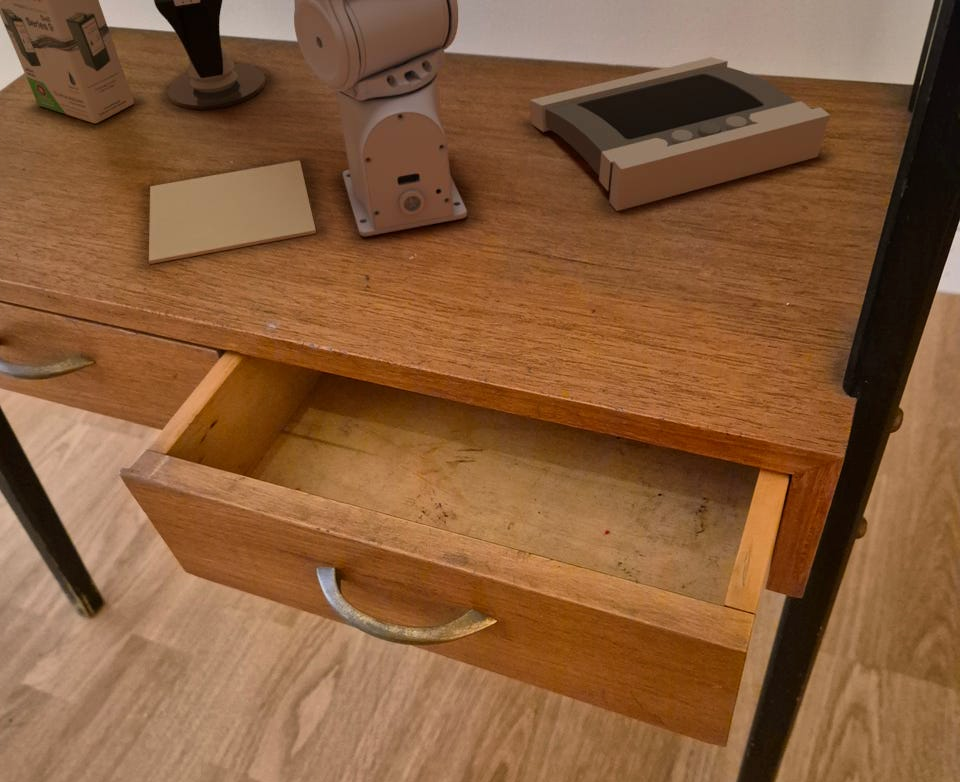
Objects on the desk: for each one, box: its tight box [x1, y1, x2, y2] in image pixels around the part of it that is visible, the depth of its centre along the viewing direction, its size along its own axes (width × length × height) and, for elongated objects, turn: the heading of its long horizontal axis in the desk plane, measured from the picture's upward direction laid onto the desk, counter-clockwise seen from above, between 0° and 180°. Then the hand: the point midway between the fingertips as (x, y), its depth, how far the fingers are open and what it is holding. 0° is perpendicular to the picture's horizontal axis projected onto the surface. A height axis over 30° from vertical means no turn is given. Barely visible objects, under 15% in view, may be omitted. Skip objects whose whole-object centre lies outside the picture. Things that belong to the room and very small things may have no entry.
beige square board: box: [148, 160, 317, 265], centre depth 67 cm, size 11×12×1 cm
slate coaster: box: [167, 63, 266, 111], centre depth 82 cm, size 9×9×1 cm
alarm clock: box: [529, 56, 831, 212], centre depth 69 cm, size 17×5×16 cm
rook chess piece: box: [186, 47, 238, 93], centre depth 79 cm, size 4×4×8 cm
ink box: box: [0, 0, 135, 124], centre depth 77 cm, size 9×5×12 cm, turn 56°
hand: (210, 62), depth 80 cm, fingers open, 5 cm apart
